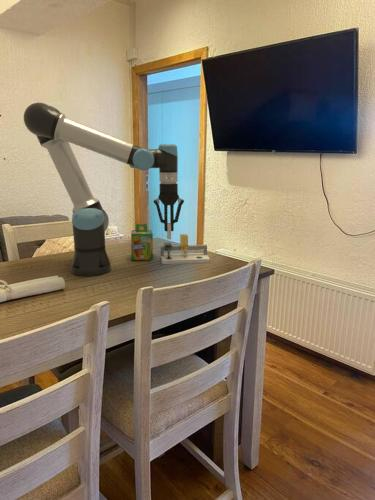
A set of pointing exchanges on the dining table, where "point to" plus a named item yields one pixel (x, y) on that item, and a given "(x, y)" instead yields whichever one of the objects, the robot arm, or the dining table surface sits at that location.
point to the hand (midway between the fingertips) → (169, 238)
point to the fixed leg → (168, 248)
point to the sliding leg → (184, 243)
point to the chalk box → (141, 243)
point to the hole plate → (189, 257)
